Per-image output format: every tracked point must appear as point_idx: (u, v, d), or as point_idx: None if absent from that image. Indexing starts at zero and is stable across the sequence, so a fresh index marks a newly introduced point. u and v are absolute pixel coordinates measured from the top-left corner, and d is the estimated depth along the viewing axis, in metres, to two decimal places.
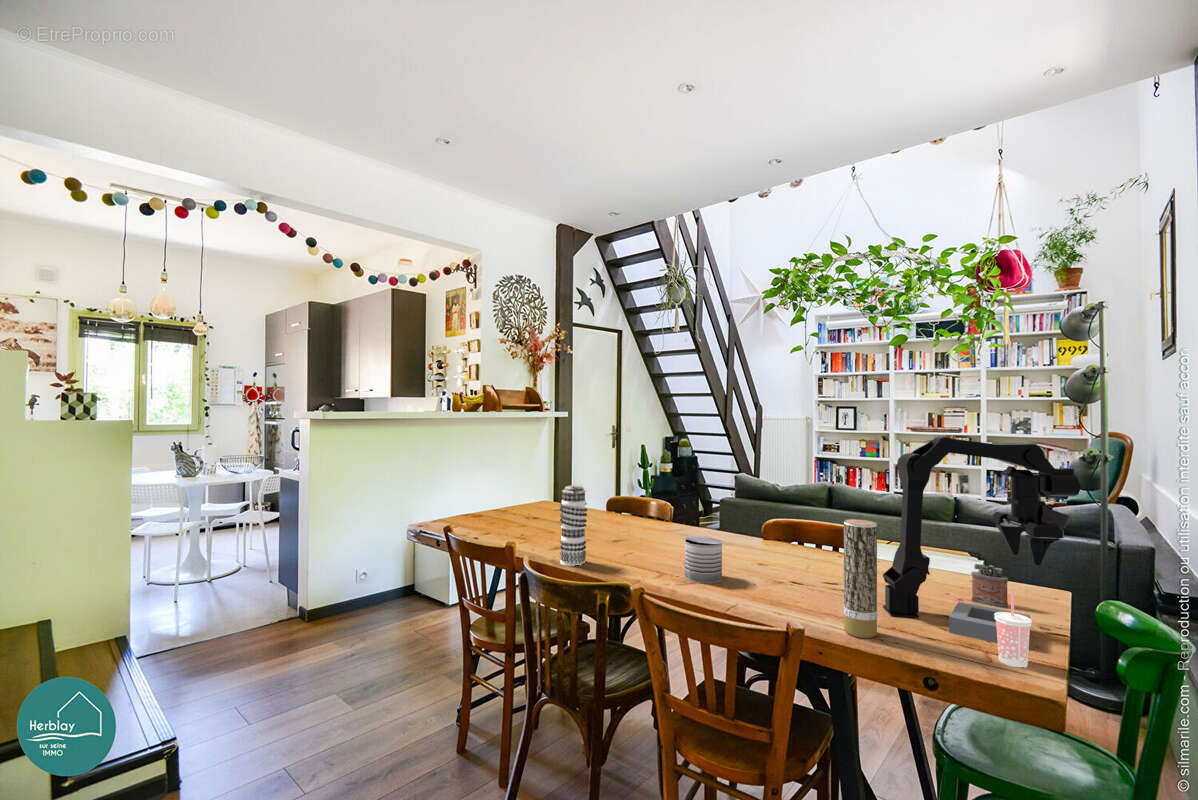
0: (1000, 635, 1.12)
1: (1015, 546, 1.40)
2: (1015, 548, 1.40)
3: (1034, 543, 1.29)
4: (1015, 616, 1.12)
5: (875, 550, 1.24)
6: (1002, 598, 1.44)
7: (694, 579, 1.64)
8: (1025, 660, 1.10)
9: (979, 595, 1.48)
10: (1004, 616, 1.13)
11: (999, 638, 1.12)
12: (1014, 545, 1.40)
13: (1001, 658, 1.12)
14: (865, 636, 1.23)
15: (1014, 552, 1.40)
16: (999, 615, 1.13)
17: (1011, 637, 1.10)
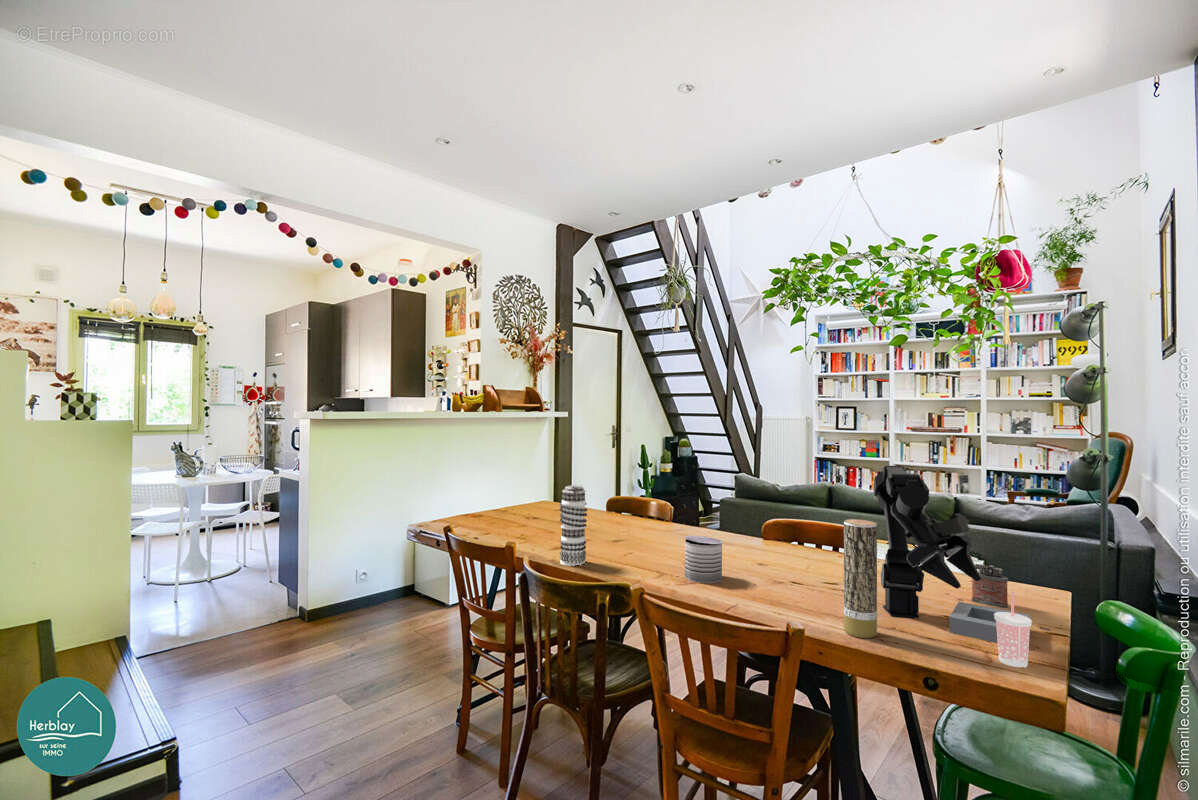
0: (1000, 635, 1.12)
1: (971, 571, 1.23)
2: (972, 574, 1.23)
3: (930, 570, 1.20)
4: (1015, 616, 1.12)
5: (875, 550, 1.24)
6: (1002, 598, 1.44)
7: (694, 579, 1.64)
8: (1025, 660, 1.10)
9: (979, 595, 1.48)
10: (1004, 616, 1.13)
11: (999, 638, 1.12)
12: (969, 571, 1.23)
13: (1001, 658, 1.12)
14: (865, 636, 1.23)
15: (975, 578, 1.22)
16: (999, 615, 1.13)
17: (1011, 637, 1.10)
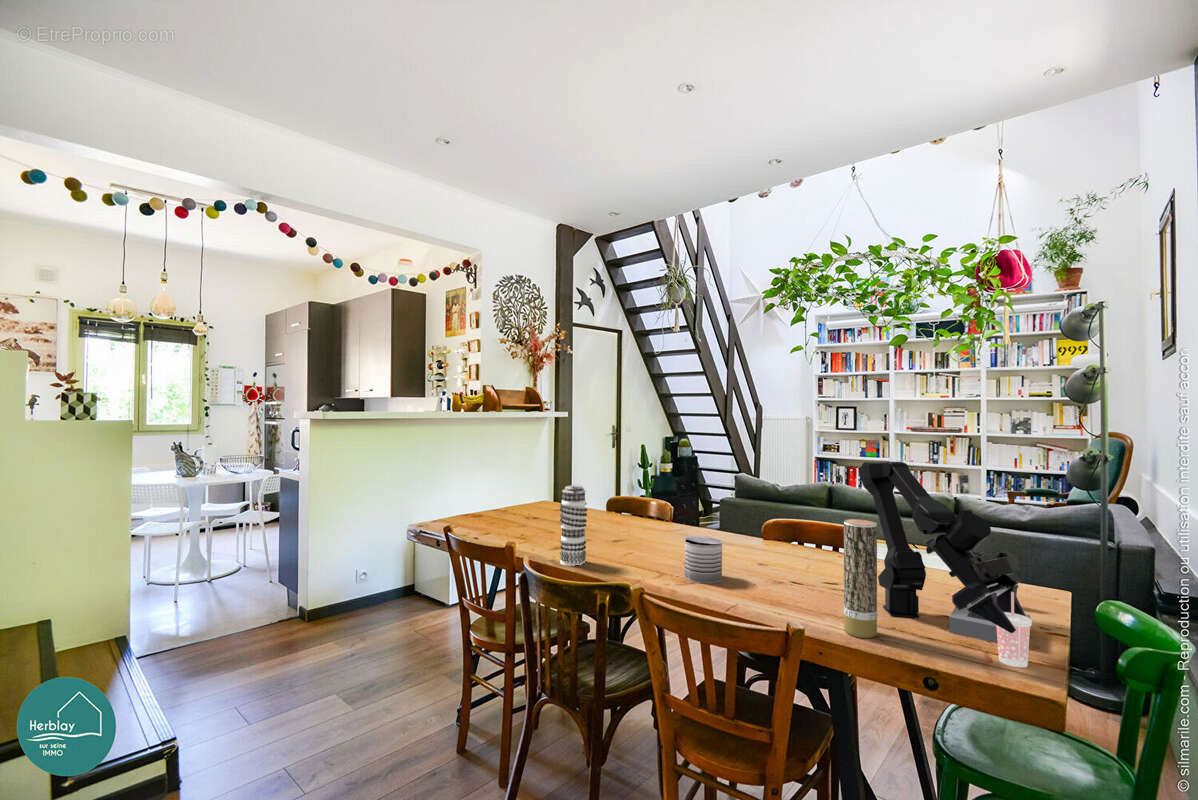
0: (1000, 635, 1.12)
1: None
2: None
3: (981, 612, 1.12)
4: (1015, 616, 1.12)
5: (875, 550, 1.24)
6: None
7: (694, 579, 1.64)
8: (1025, 660, 1.10)
9: None
10: None
11: (999, 638, 1.12)
12: None
13: (1001, 658, 1.12)
14: (865, 636, 1.23)
15: None
16: None
17: (1011, 637, 1.10)
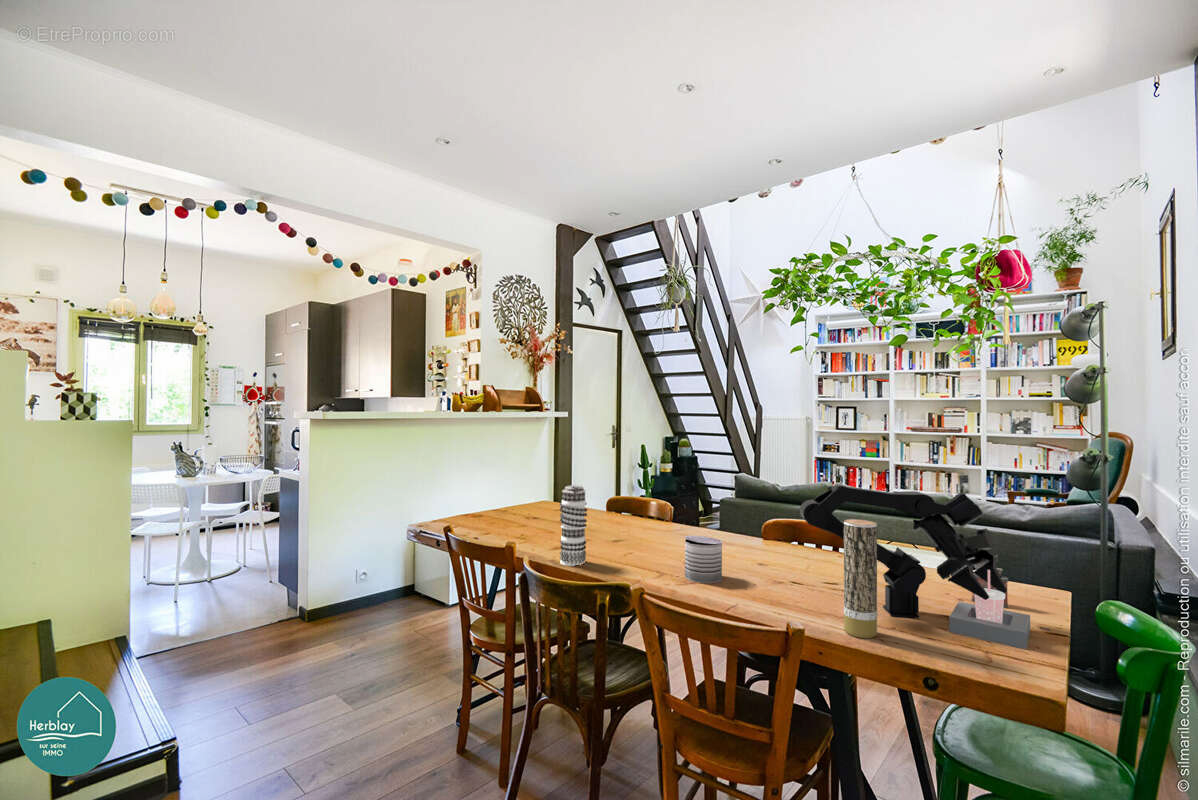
0: (978, 607, 1.28)
1: (997, 583, 1.31)
2: (999, 586, 1.31)
3: (960, 582, 1.28)
4: (991, 591, 1.28)
5: (875, 550, 1.24)
6: None
7: (694, 579, 1.64)
8: None
9: None
10: None
11: (977, 610, 1.29)
12: (996, 583, 1.31)
13: None
14: (865, 636, 1.23)
15: (1001, 590, 1.30)
16: None
17: (987, 608, 1.26)
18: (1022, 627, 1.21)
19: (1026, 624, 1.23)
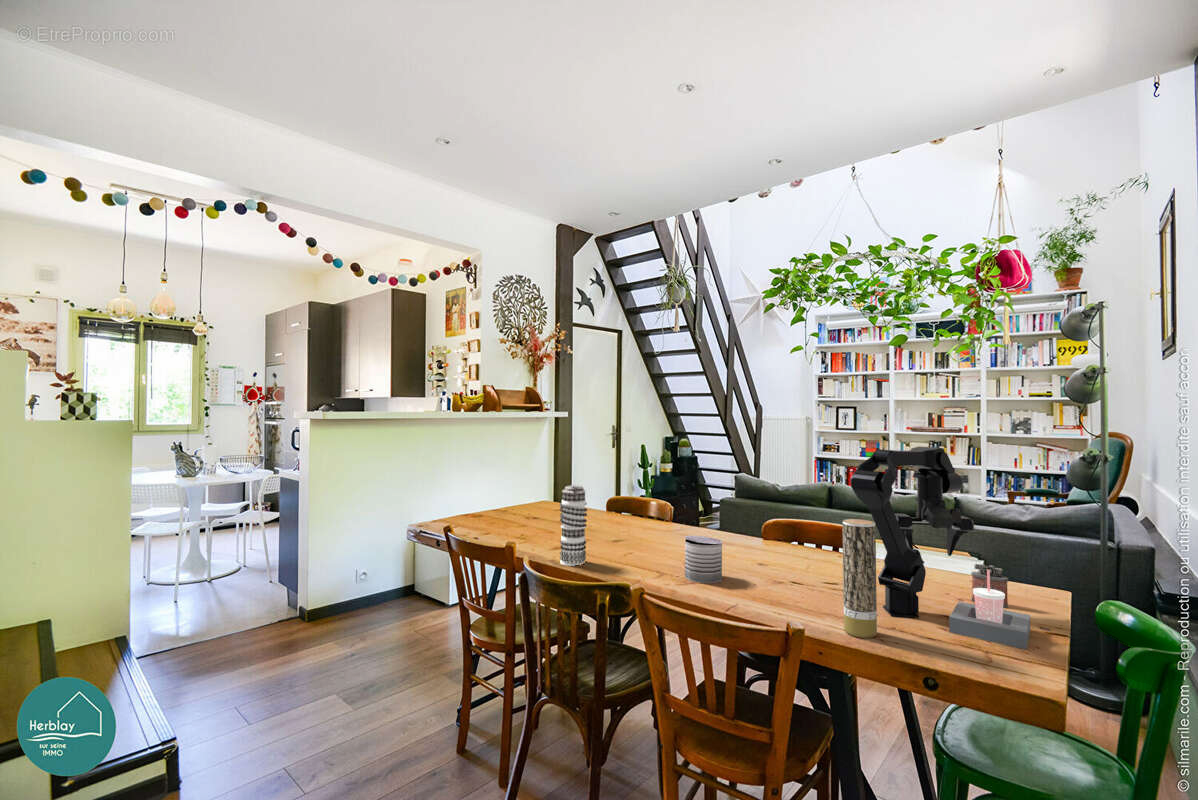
0: (978, 607, 1.28)
1: (948, 547, 1.46)
2: (948, 549, 1.46)
3: (901, 532, 1.49)
4: (991, 591, 1.28)
5: (874, 549, 1.24)
6: None
7: (694, 579, 1.64)
8: None
9: None
10: (981, 591, 1.29)
11: (977, 610, 1.29)
12: (948, 546, 1.46)
13: None
14: (865, 636, 1.23)
15: (948, 552, 1.46)
16: (977, 590, 1.30)
17: (987, 608, 1.26)
18: (1022, 627, 1.21)
19: (1026, 624, 1.23)
